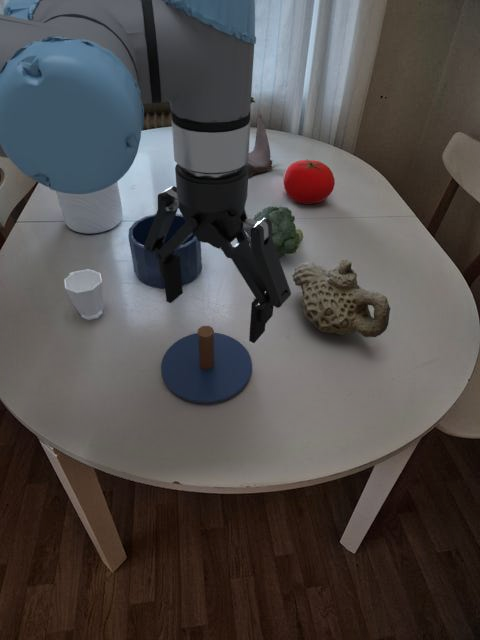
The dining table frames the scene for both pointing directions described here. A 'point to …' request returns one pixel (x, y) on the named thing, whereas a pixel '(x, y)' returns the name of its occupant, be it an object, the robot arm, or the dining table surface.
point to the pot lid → (206, 367)
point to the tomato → (308, 181)
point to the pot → (147, 262)
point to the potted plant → (259, 151)
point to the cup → (86, 292)
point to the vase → (92, 210)
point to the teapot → (340, 300)
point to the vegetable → (282, 229)
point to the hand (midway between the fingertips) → (214, 316)
